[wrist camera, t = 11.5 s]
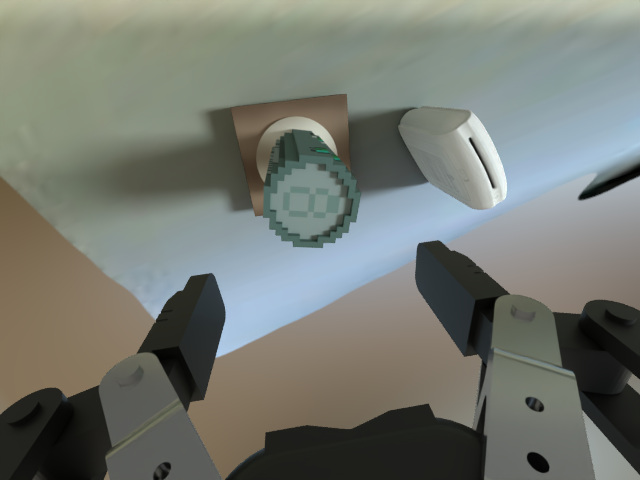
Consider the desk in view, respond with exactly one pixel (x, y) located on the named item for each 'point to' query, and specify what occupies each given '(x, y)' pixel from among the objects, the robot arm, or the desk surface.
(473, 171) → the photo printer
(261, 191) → the base
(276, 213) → the can
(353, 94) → the desk surface
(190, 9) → the desk surface
